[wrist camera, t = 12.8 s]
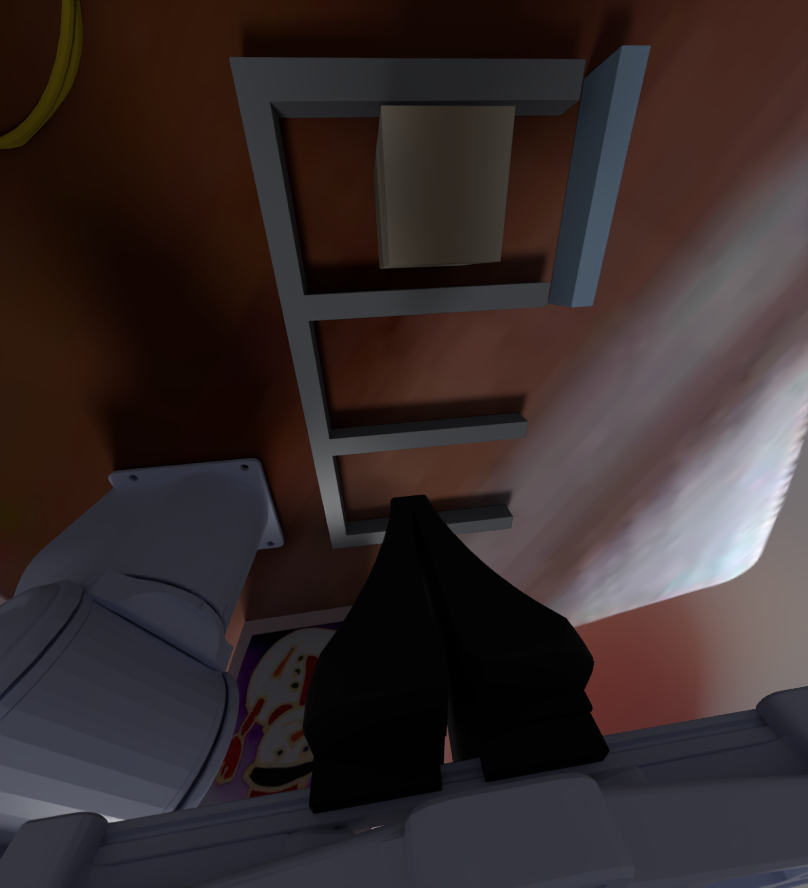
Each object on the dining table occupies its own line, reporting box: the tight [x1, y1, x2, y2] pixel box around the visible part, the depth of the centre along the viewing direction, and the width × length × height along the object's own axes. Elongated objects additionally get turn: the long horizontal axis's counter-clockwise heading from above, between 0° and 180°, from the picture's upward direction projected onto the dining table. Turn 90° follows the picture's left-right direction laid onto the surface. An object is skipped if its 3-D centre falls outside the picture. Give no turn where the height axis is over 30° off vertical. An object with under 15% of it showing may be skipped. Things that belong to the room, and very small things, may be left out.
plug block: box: [374, 106, 515, 269], centre depth 13 cm, size 4×4×7 cm
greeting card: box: [197, 605, 371, 834], centre depth 24 cm, size 11×7×15 cm, turn 94°
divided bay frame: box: [229, 46, 651, 549], centre depth 19 cm, size 16×26×2 cm, turn 2°
